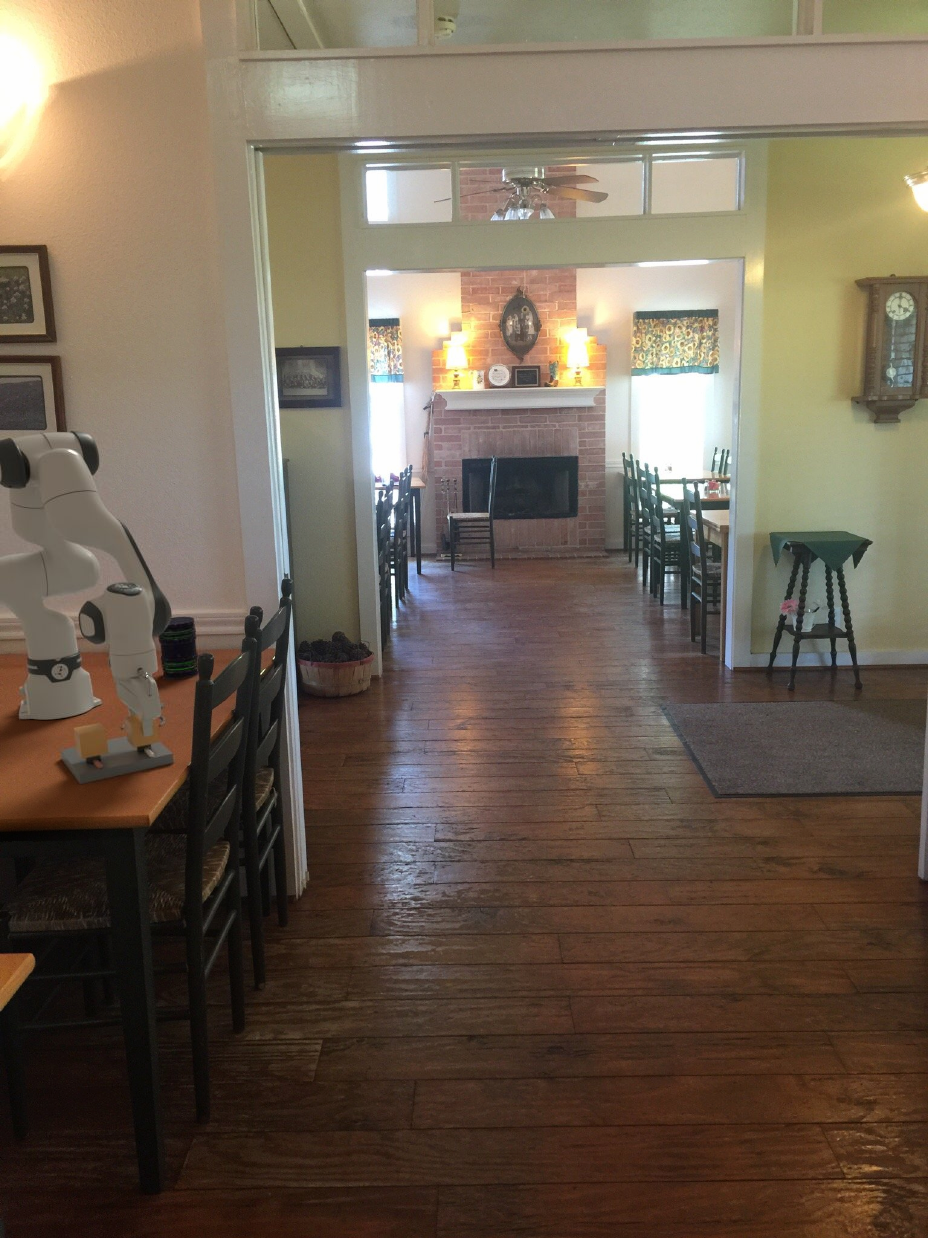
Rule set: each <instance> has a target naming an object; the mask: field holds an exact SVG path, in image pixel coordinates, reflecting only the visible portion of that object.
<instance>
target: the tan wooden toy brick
mask: <svg viewBox="0 0 928 1238" xmlns="http://www.w3.org/2000/svg"><path fill="white" fill-rule="evenodd" d="M124 723H125V725H126V726H125V732H126V736H127V741H128V742H129V743H130V744H131V745H132V746H133V747H134V748H135V747H139V746H144V745H149V744H153V743H158V742H160V741H159V732H158V731H159V730H158V724H157V718H154V719H153V726H152V730H153V734H152V735H151V736H144V735H143V734H142V729H141V727H142V720H141V717H140V716H138V715H136V716H131V717H130V716H128V717H124Z"/></svg>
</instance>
